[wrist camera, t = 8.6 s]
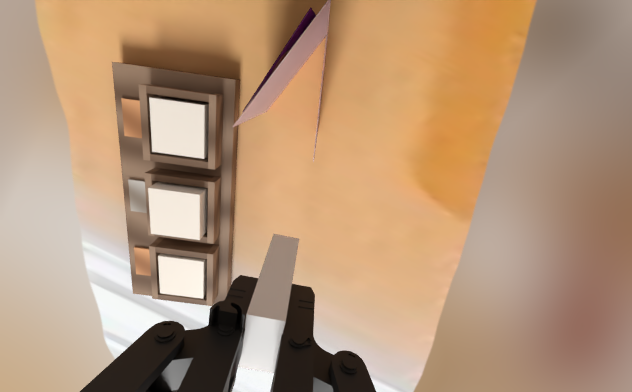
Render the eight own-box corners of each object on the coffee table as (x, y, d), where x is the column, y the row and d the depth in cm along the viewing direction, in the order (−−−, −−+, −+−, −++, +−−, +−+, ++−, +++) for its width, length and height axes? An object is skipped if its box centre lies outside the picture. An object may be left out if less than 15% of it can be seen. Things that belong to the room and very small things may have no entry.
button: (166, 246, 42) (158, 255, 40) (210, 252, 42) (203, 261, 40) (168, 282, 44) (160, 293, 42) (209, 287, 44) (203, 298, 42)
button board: (123, 63, 36) (96, 60, 32) (240, 80, 36) (228, 79, 32) (140, 285, 47) (122, 304, 43) (230, 296, 47) (221, 317, 43)
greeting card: (322, 27, 34) (320, -13, 20) (369, 73, 36) (398, 66, 22) (261, 106, 37) (223, 119, 23) (306, 145, 39) (297, 180, 25)
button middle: (158, 181, 37) (148, 187, 35) (207, 188, 37) (199, 194, 35) (160, 225, 39) (150, 233, 37) (206, 231, 40) (199, 240, 37)
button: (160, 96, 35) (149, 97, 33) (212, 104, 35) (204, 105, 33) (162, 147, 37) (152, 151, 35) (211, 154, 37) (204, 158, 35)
